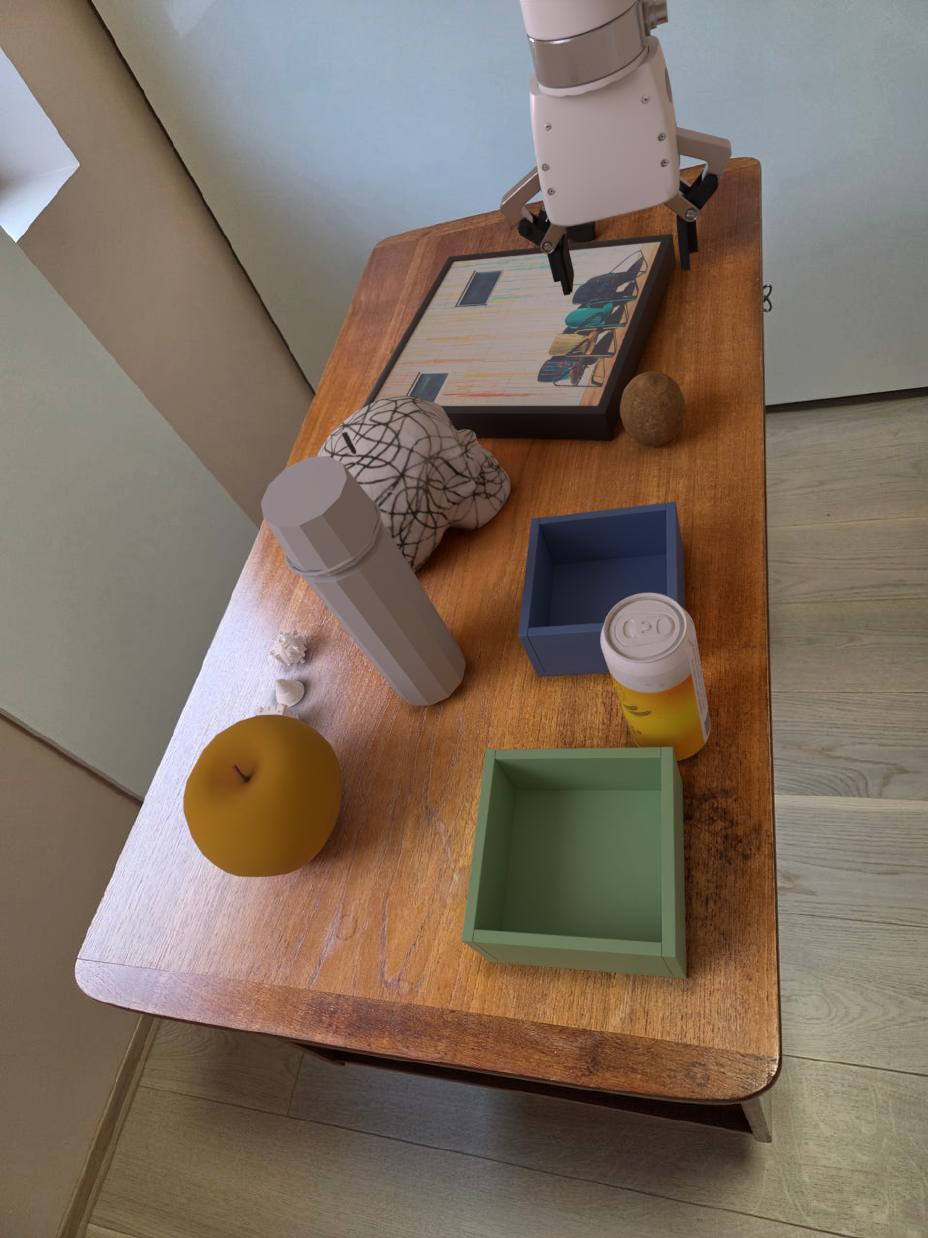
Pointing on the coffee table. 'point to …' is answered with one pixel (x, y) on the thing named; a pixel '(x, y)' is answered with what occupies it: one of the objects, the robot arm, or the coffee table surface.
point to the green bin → (580, 861)
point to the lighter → (574, 229)
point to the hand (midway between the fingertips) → (626, 273)
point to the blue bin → (593, 579)
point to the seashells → (286, 690)
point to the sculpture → (419, 472)
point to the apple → (263, 796)
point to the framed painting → (533, 339)
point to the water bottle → (362, 577)
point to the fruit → (652, 408)
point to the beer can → (657, 672)
